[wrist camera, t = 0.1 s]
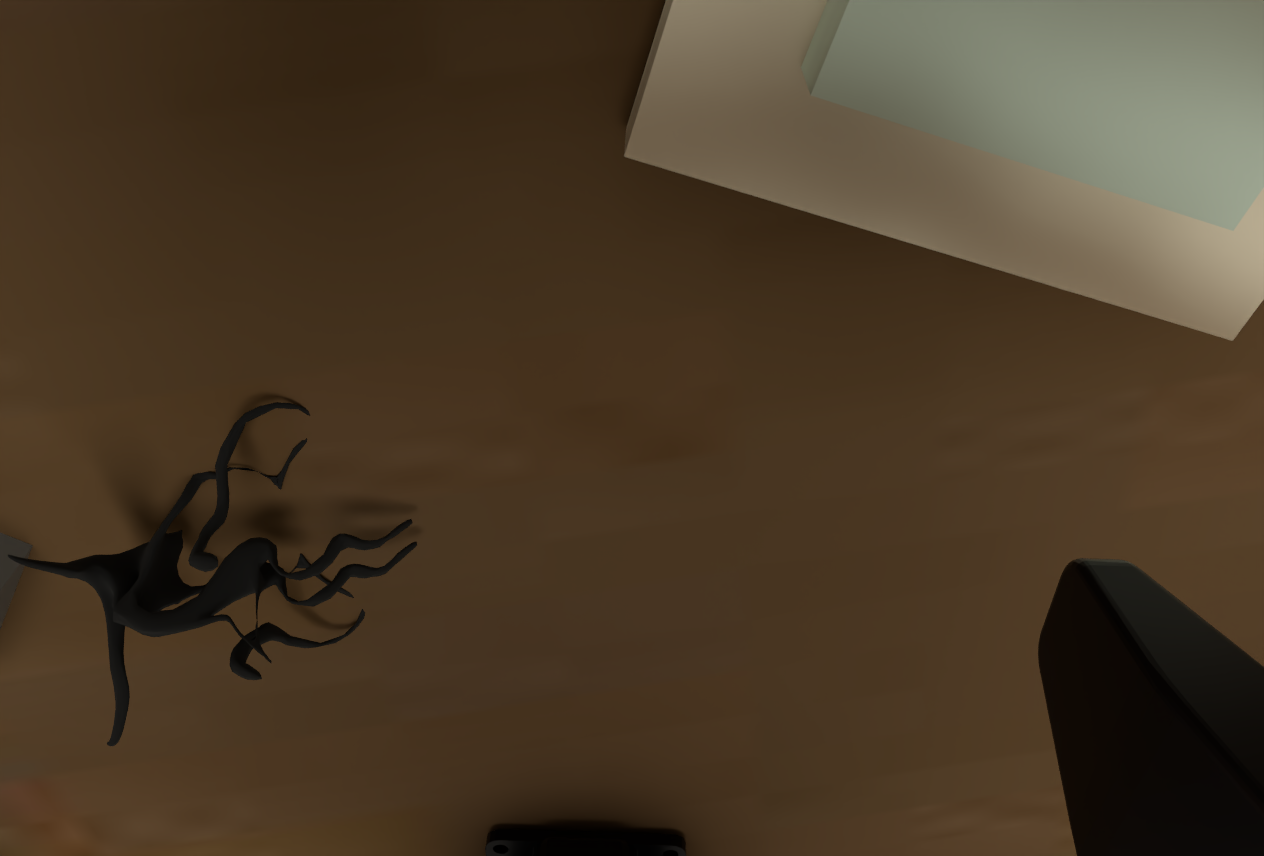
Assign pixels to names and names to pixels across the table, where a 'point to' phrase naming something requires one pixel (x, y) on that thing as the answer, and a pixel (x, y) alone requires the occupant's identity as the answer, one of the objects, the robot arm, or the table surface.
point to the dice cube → (10, 569)
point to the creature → (153, 583)
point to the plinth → (919, 175)
